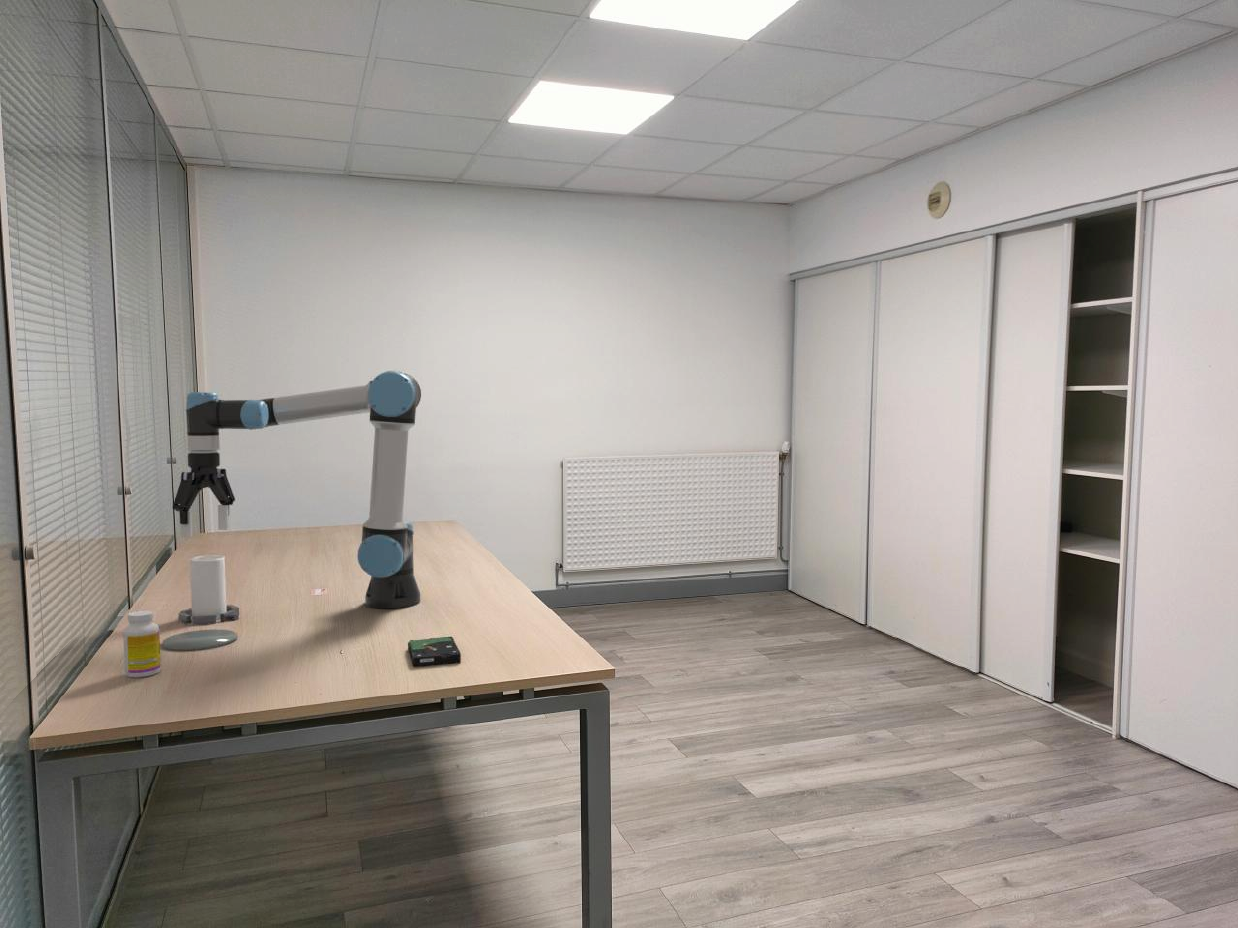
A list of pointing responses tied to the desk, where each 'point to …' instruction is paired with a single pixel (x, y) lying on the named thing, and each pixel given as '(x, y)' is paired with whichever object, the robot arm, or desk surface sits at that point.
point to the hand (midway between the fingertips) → (205, 533)
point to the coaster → (199, 640)
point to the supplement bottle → (141, 645)
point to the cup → (208, 585)
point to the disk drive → (434, 652)
